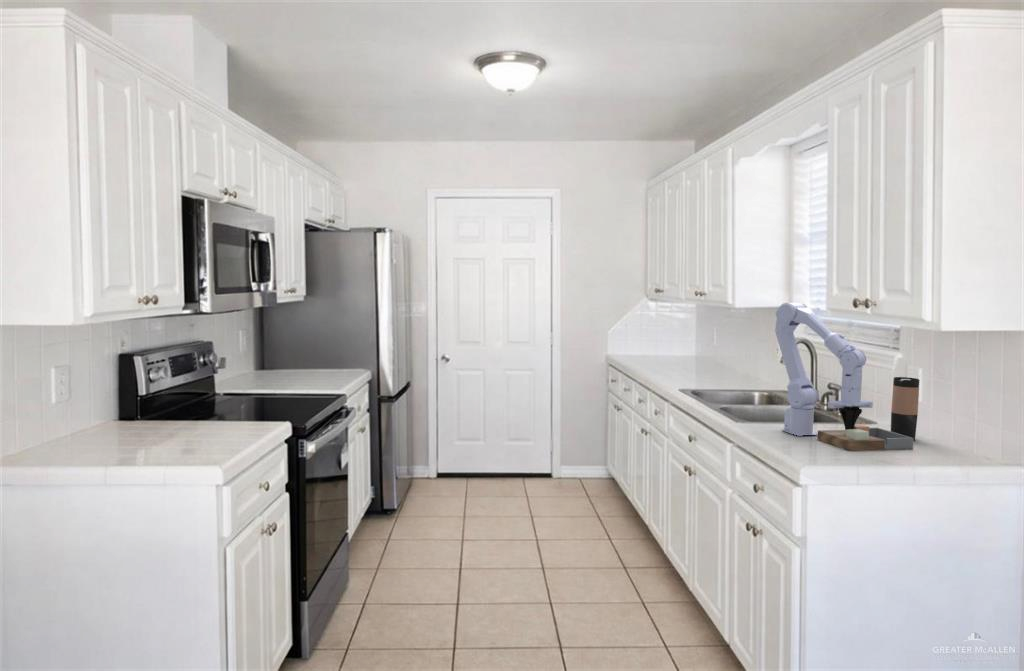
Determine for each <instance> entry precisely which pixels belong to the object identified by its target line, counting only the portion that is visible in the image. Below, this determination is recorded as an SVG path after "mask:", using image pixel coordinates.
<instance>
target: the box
mask: <svg viewBox="0 0 1024 671" xmlns="http://www.w3.org/2000/svg"><path fill="white" fill-rule="evenodd" d="M869 436H872V437H876V438H879V439H882V440H885V449H884V450H883V451H897V450H900V451H901V450H914V441H913V440H914V438H912V437H908V436H905V435H901V434H898V433H894V432H891V430H887V429H884V428H881V427H869Z"/></svg>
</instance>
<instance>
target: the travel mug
mask: <svg viewBox="0 0 1024 671" xmlns="http://www.w3.org/2000/svg"><path fill="white" fill-rule="evenodd" d="M892 383H893V384H892V397H891V398H892V399H891V412H890V413H891V414H890V431H891V432H894V433H898V434H901V435H905V436H908V437H912V438H914V440H913V442H914V441H916V435H917V433H916V432H917V425H918V424H917V423H918V416H919V415H918V412H919V399H920V398H919V396H920V395H919V393H920V379H919V378H916V377H914V378H913V377H907V376H895V377H893V382H892Z"/></svg>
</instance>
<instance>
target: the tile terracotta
mask: <svg viewBox="0 0 1024 671" xmlns="http://www.w3.org/2000/svg"><path fill="white" fill-rule="evenodd" d="M869 428H870V426H868V425H865V424H862V423H855V425H854V428H853V429H860V430H864V431H867V432H869Z"/></svg>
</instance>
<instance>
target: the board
mask: <svg viewBox="0 0 1024 671" xmlns="http://www.w3.org/2000/svg"><path fill="white" fill-rule="evenodd" d="M817 434H818V435H817V439H819V440H818V441H820V440H821V441H820V442H823V441H824V442H823V443H825V442H826V443H825V444H828V443H829V444H828V445H831V446H834V447H837V448H839V447H840V448H839V449H842V448H843V450H845V451H849V452H861V451H862V452H867V451H885V450H884V449H885V440H882V439H879V438H876V437H872V436H869V440H853V439H850V438H847V437H846V430H845V429H828V430H827V429H825V430H824V429H823V430H817Z"/></svg>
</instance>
